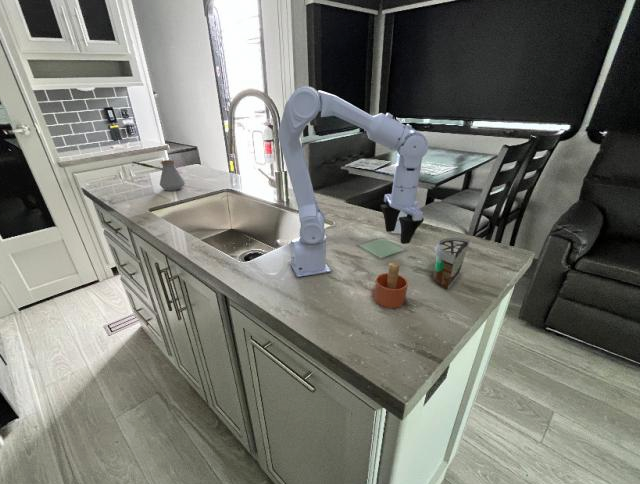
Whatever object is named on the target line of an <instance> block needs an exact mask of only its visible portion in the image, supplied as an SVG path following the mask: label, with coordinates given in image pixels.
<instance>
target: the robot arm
mask: <svg viewBox="0 0 640 484" xmlns="http://www.w3.org/2000/svg"><path fill="white" fill-rule="evenodd" d="M319 112H320V118H327V117H333V116H334V117H337V118H339V119H340V120H342V121H345V122H348V123H349V124H351V125H354V126H357V127H359V128H360V129H362V130H365V131H366V135H367V138H368V140H370V141H372V142H374V143H376V144H378V145H379V146H382V147H384V148H386V149H388V150H390V151H392V152H397V155H396V163H395V166H394V173H393V181H392V188H391V193H386V194H384V197H383V202H384V203H383V204H381V205H380V209H381V211H382V215H383V218H384V226H385V231H386V232H387V233H391V231H394V230H395V227H396V223H397V218H398V216H399V213H400V211H402V212H404V213H405V214H407V217H406V216H405V217H399V221H400V225H401V234H400V243H401V245H405V244H406V245H407V244H410V242H411V240H412V239H413V237H414V235H415V233H416V231H417V229H418V228H419V227H420V226H421V224H423V222H424V219H425V218H424V217H423V216H424V212H423V211H422V210H421V209H420V208H419V207H418V205H419V201H417V200H416V198H417V192H418V187H419V182H420V175H421V170H422V169H421V168H422V161H423V158H424V157H425V155H426V154H427V152H428V151H429V146H428V140H427V137H426V136H425V135H424V134H422V133H421V132H419V131H418V130H416V129H415V128H413V126H412V125H410V124H409V123H407V124H406V125H405V124H404V123H402V122H400V121H398V120H396V119H394V115H393V114H391V113H390V112H386V114H385V113H384V112H383V113H382V112H380V113H378V114H376V115H371V114H369V113H368V112H366V111H364V110H362V109H360V108H359V107H357V106H355V105H353V104H352V103H350V102H348V101H346V100H344V99H343V98H340V97H339V96H337V95H335V94H332V93H329V92H326V91H323V90H317V89H315V88H314V87H312V86H307V85H305V86H302V87H299V88H297V89H295V90H294V91H293V92H292V94H291V95H290V97H289V98H288V99H287V101H286V103H285V104H284V109H283V113H282V116H281V119H280V123H279V127H278V131H277V136H278V137H277V138H278V141H279V145H280V148H281V151H282V155H283V158H284V159H283V160H284V163H285V167H286V169H287V172H288V177H289V180H290V183H291V187H292V191H293V194H294V198H295V201H296V205H297V210H298V217H299V218H298V219H299V224H300V228H299V236H298V237H297V238H295V239H293V240H290V242H289V243H290V245H289V249H290V262H289V264H290V266H291V268H292V270H293V272H294V274H295V276H296V277H297V278H300V277H306V276H314V275H319V274H326V273H330V272H331V268H330V267H329V266H328V264H327V263H326V262H327V260H326V259H327V257H326V256H327V236H326V235H327V234H326V230H325V223H326V217H325V214H324V213H323V212H322V210H320V208H319V207H320V206H319V203H318V202H317V199H316V195H315V191H314V188H313V183H312V179H311V175H310V172H309V168H308V163H307V159H306V155H305V151H304V147H303V143H302V139H301V135H302V134H303V132H304V131H305V128H306V126H307V125H308V124H309V123H311V122H312V121H313V120H314V119H315V118H316V117H317V115H318V113H319Z"/></svg>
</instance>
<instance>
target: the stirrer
mask: <svg viewBox="0 0 640 484" xmlns="http://www.w3.org/2000/svg"><path fill="white" fill-rule="evenodd" d="M400 267H401V264H400V263H399V262H396V261H391V262H390V263H389V265H388V272H387V273H388V279H387V285H386V288H389V289H396V285H397V279H398V275H399V272H400Z"/></svg>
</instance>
